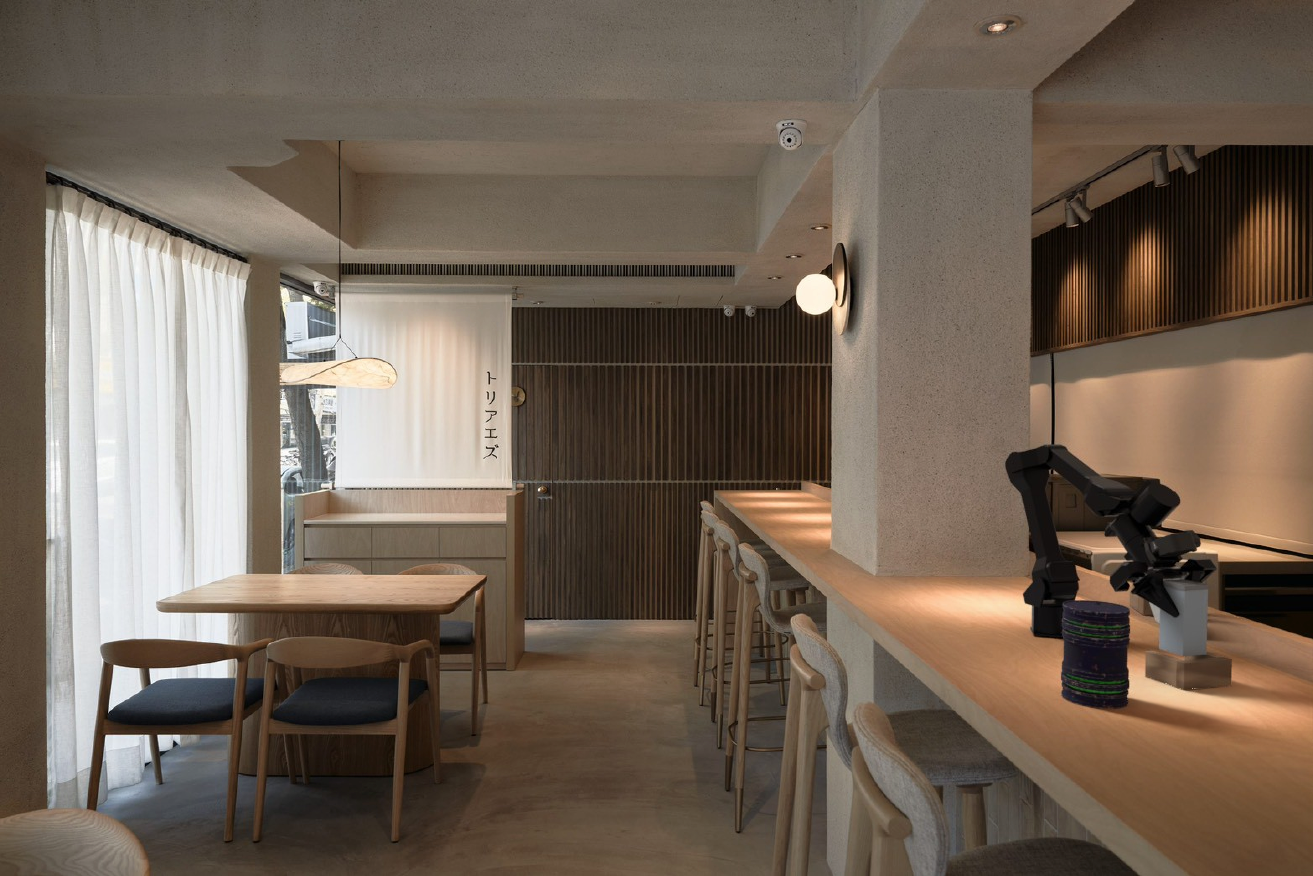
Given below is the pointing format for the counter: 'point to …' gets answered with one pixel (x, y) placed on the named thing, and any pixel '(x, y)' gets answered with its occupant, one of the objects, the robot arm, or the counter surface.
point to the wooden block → (1140, 604)
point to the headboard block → (1189, 670)
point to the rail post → (1185, 619)
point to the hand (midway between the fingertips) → (1190, 615)
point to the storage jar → (1095, 654)
